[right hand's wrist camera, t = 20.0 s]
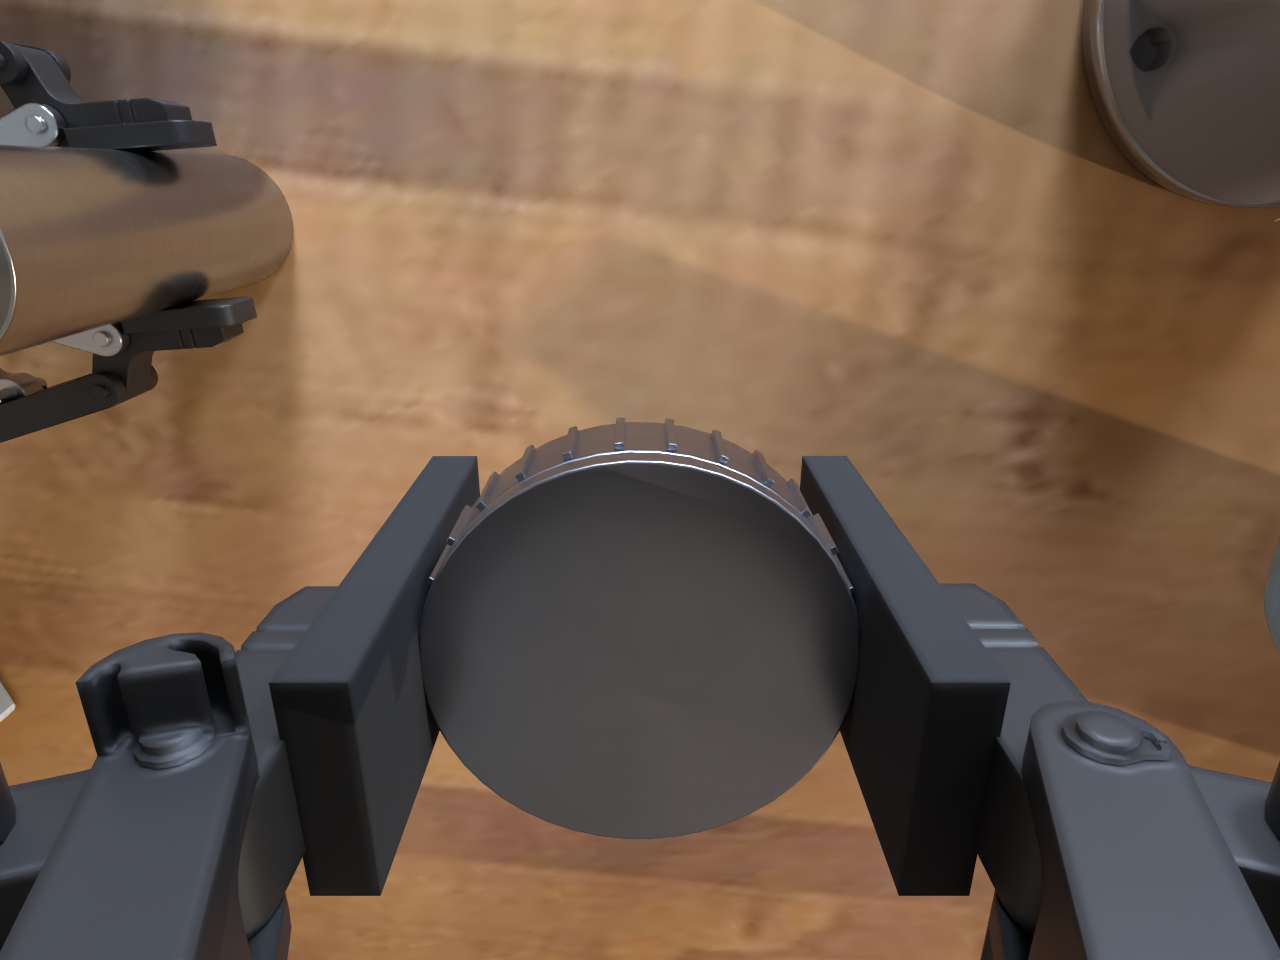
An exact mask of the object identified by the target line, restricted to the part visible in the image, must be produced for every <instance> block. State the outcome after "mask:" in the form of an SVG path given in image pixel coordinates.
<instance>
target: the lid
mask: <svg viewBox="0 0 1280 960" xmlns="http://www.w3.org/2000/svg"><path fill="white" fill-rule="evenodd" d="M837 553H839V551H838V549H837V547H836V545H835V543H834V541H833V540H832V538H831V536H830V534H829V532H828V530H827V528H826V526H825V524H824V522H823V521H822V519H821V517H820V515H819V513H817V514H815V515H812V513H811V511H810V509H809V507H808V505H807V503H806V501H805V499H804V497H803V495H802V493H801V491H800V489H799V487H798V485H797V484H796V482H795V481H794V480H793V479H791V480H789V481H788V482H786V480H785V479H784V478H783V477H782V476H781V475H780V474H779V473H777V472H776V471H775V470H774V469H772V468H771V467H770V466H768V465H767V464H766V462H765V459H764V457H763V455H762V453H760V452H759V451H757V450H756V451H755V452H754V453H753V454H751V453H750V452H748V451H746V450H744V449H743V448H741V447H739V446H738V445H736V444H734V443H731V442H729V441H726V440H724V439H722V435H721V432H719V431H716V430H713V432H712V434H709V433H706V432H702V431H698V430H695V429H691V428H687V427H683V426H676V425H674V420H672V419H666V421H665V424H662V423H638V422H628V423H625V418H617V421H616V424H610V425H601V426H597V427H593V428H589V429H585V430H581V431H578V428H577V426H575V427H572V428H569V431H568V435H565V436H563V437H560V438H558V439H555V440H552V441H550V442H548V443H546V444H544V445H542V446H541V447H539V448H537V449H535V447H534V446H533V445H531V446H529V447H527V448H526V450H525V452H524V455H523V457H522V458H520V459H519V460H518V461H516V462H515V463H514V464H512V465H511V466H509V467H508V468H507V469H505V470H504V471H503V472H502V473H501V474H500V475H499V474H497V473H496V472H494V473H493V474H492V475H491V476H490V477H489V479H488V481H487V483H486V485H485V487H484V489H483V491H482V493H481V495H480V497H479V498H478V499H477V501H476V502H475V503H474V504H473V506H472V507H469V506H468V505H466V506H465V507H464V509H463V511H462V513H461V514H460V516H459V518H458V520H457V522H456V524H455V526H454V528H453V530H452V532H451V533H450V535H449V537H448V539H447V541H446V546H445V548H444V550H443V552H442V554H441V556H440V558H439V560H438V562H437V564H436V566H435V567H434V569H433V571H432V573H431V575H430V577H429V580H428V583H427V584H428V585H431V588H430V591H429V593H428V596H427V599H426V601H425V605H424V610H423V614H422V619H421V624H420V632H419V652H420V661H421V670H422V679H423V686H424V692H425V696H426V700H427V703H428V705H429V708H430V710H431V712H432V715H433V717H434V720H435V722H436V724H437V726H438V728H439V730H440V731H441V733H442V735H443V736H444V738H445V740H446V741H447V743H448V745H449V746H450V748H451V749H452V750H453V751H454V753H455V754H456V755H457V756H458V758H459V759H460V760H461V762H462V763H463V764H464V765H465V766H466V767H467V768H468V769H469V770H470V771H471V772H472V773H473V774H474V775H475V776H476V777H477V778H478V779H479V780H480V781H481V782H482V783H483V784H485V785H486V786H487V787H488V788H490V789H491V790H492V791H494V792H495V793H496V794H498V795H499V796H500V797H501V798H503V799H505V800H506V801H508V802H510V803H511V804H513V805H515V806H516V807H518V808H520V809H521V810H523V811H525V812H527V813H529V814H531V815H534V816H536V817H538V818H540V819H542V820H545V821H547V822H550V823H553V824H556V825H559V826H562V827H565V828H568V829H571V830H574V831H579V832H584V833H588V834H593V835H597V836H606V837H614V838H623V839H653V838H665V837H676V836H681V835H686V834H691V833H696V832H701V831H705V830H708V829H711V828H715V827H718V826H721V825H724V824H727V823H730V822H732V821H734V820H737V819H739V818H741V817H744V816H746V815H748V814H751V813H752V812H754V811H756V810H758V809H759V808H761V807H763V806H765V805H767V804H768V803H770V802H772V801H773V800H775V799H776V798H777V797H779V796H780V795H782V794H783V793H784V792H786V791H787V790H789V789H790V788H791V787H793V786H794V785H795V784H796V783H797V782H798V781H799V780H800V779H801V778H802V777H803V776H805V775H806V774H807V773H808V772H809V771H810V770H811V769H812V768H813V767H814V765H815V764H816V763H817V762H818V761H819V759H820V758H821V757H822V756H823V755H824V753H825V752H826V751H827V750H828V748H829V746H830V745H831V743H832V742H833V740H834V739H835V737H836V735H837V734H838V732H839V731H840V729H841V727H842V725H843V722H844V720H845V718H846V716H847V714H848V711H849V709H850V707H851V703H852V700H853V696H854V693H855V690H856V682H857V674H858V665H859V656H860V629H859V623H858V617H857V612H856V607H855V604H854V601H853V598H852V595H853V594H855V592H854V588H853V586H852V584H851V582H850V580H849V578H848V576H847V574H846V572H845V570H844V568H843V567H842V565H841V563H840V561H839V559H838V557H837V555H836V554H837Z"/></svg>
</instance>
